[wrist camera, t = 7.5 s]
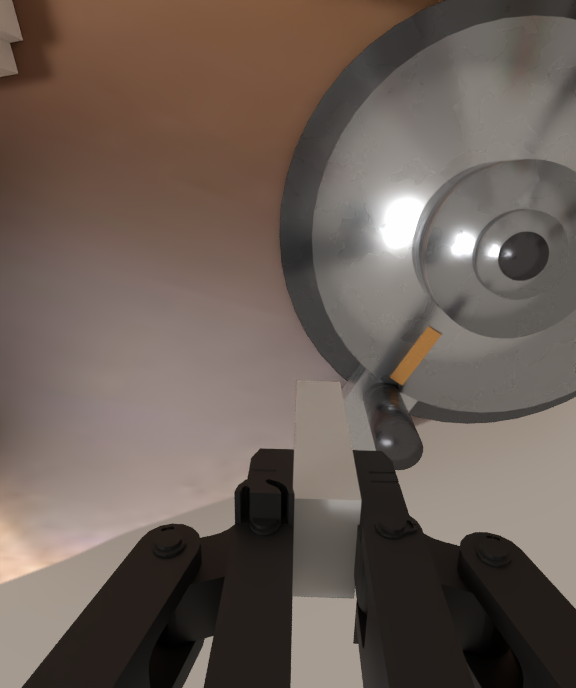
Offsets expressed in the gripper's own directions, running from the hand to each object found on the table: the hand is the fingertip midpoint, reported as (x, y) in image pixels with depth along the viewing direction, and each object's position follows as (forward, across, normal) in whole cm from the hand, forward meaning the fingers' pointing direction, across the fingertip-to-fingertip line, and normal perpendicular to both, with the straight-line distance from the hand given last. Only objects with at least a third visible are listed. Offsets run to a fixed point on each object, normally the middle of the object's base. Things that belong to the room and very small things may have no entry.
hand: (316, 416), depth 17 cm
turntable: (+15, +11, +3) cm, 19 cm away
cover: (+14, +10, +4) cm, 17 cm away
